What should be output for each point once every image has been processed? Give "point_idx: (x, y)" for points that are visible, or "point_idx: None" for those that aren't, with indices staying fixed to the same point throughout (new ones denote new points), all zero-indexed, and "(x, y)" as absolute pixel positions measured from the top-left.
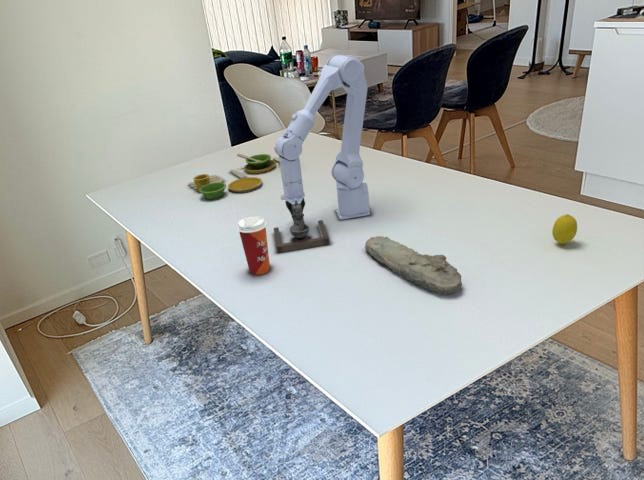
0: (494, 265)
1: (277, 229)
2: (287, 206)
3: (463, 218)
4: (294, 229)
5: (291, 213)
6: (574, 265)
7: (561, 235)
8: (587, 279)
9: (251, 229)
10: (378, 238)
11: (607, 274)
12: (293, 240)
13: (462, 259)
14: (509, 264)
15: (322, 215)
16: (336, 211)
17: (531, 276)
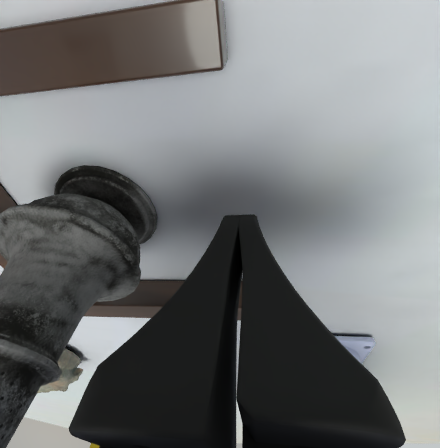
0: (46, 401)
1: (160, 60)
2: (76, 411)
3: None
4: (9, 244)
5: (171, 299)
6: (64, 419)
7: (91, 443)
8: (37, 416)
9: None
10: (50, 384)
11: (52, 421)
12: (75, 177)
13: (54, 393)
14: (53, 405)
15: (366, 301)
16: (356, 338)
17: (29, 406)
